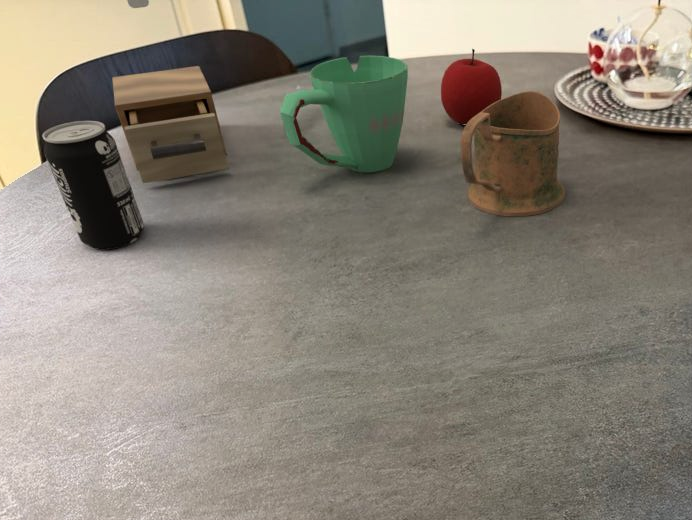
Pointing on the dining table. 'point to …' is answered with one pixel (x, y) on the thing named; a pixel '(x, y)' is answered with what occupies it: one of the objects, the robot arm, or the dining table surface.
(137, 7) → the robot arm
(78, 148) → the beverage can
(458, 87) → the apple
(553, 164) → the mug
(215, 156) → the drawer
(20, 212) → the dining table surface
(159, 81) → the cabinet
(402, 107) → the mug
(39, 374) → the dining table surface
